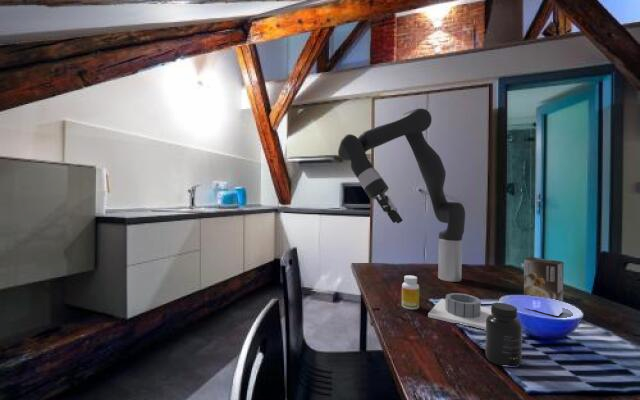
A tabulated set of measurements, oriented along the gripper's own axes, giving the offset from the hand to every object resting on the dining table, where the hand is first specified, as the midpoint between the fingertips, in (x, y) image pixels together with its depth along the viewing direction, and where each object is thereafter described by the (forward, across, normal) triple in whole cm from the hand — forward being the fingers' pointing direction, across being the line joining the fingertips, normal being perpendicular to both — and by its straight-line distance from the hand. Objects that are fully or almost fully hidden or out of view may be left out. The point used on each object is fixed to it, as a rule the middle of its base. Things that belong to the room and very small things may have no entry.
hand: (398, 221), depth 102 cm
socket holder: (+34, -1, -1) cm, 34 cm away
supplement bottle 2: (+40, -25, -5) cm, 47 cm away
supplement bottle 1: (+25, -1, +12) cm, 28 cm away
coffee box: (+46, +13, -21) cm, 52 cm away
